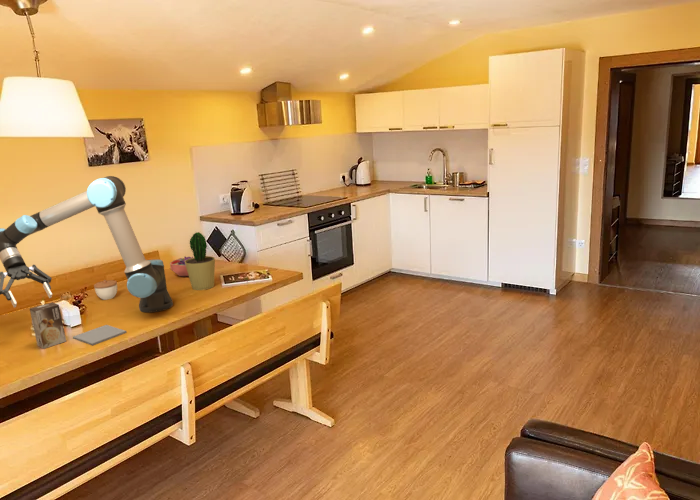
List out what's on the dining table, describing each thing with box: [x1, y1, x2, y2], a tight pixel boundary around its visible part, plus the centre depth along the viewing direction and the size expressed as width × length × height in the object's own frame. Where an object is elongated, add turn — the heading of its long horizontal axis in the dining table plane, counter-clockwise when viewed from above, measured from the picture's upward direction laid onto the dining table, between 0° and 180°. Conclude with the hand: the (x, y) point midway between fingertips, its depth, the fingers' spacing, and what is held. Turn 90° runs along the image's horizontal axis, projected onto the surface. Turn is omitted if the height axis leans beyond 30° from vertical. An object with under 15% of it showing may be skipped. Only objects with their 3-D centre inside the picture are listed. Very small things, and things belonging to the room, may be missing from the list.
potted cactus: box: [185, 231, 216, 291], centre depth 285 cm, size 15×15×30 cm
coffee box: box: [29, 301, 67, 350], centre depth 220 cm, size 9×6×16 cm
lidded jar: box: [93, 279, 118, 301], centre depth 278 cm, size 11×11×9 cm
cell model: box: [169, 256, 194, 277], centre depth 312 cm, size 17×20×11 cm
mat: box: [72, 324, 127, 346], centre depth 227 cm, size 15×15×1 cm
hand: (33, 300), depth 224 cm, fingers open, 13 cm apart
